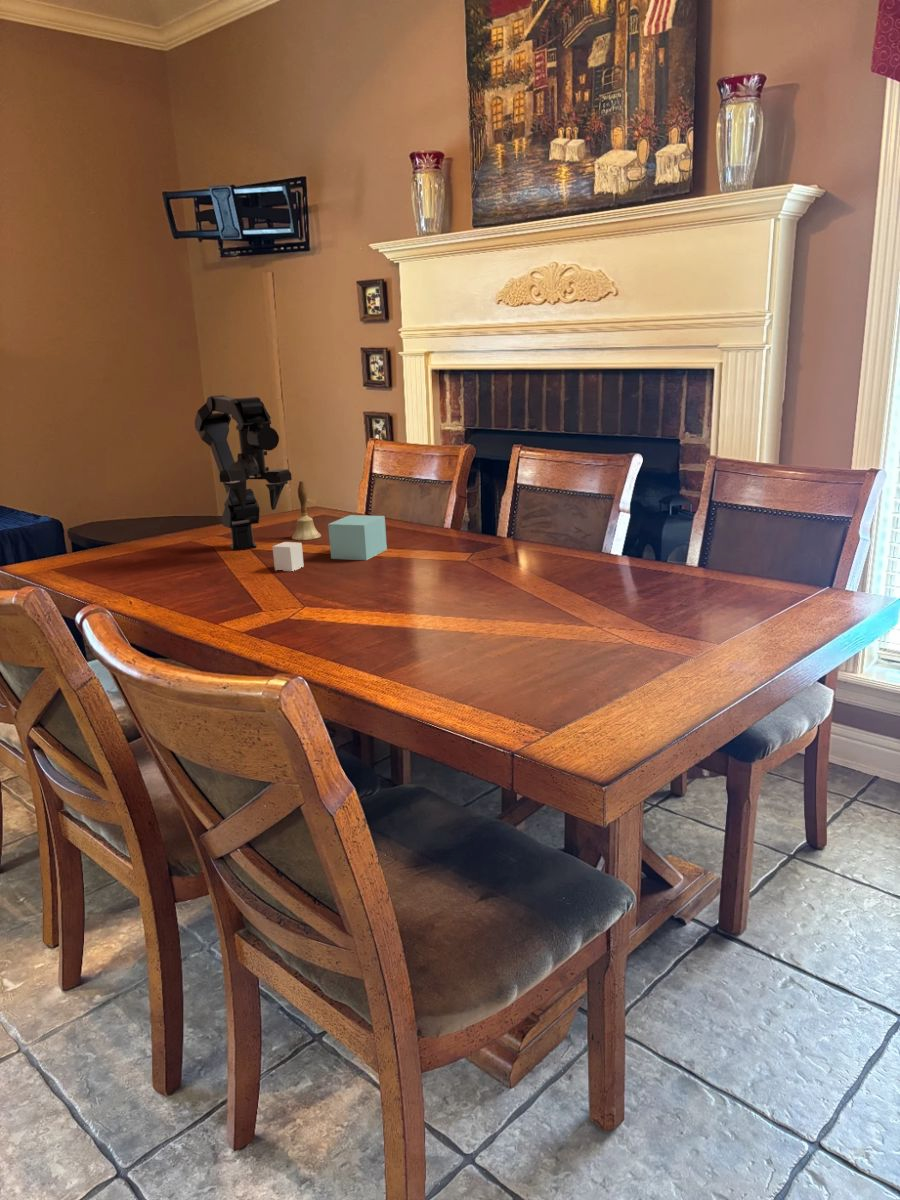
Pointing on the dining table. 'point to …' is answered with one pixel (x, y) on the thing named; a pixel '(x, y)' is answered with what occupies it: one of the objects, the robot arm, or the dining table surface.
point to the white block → (288, 556)
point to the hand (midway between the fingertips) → (258, 509)
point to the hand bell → (304, 518)
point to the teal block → (357, 537)
